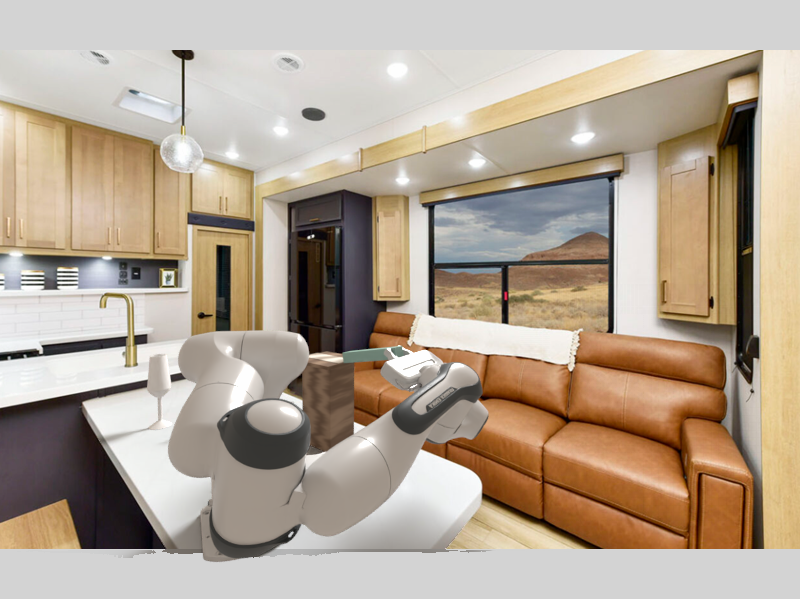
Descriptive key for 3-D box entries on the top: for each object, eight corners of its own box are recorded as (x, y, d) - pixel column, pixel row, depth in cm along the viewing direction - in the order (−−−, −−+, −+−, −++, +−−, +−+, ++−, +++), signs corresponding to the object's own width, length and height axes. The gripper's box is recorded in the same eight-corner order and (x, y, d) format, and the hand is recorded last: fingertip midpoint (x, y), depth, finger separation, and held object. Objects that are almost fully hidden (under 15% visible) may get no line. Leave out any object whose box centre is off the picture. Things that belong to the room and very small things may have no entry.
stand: (360, 439, 109) (361, 356, 108) (327, 457, 98) (327, 366, 96) (326, 427, 118) (326, 350, 116) (293, 443, 106) (292, 358, 105)
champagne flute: (151, 422, 119) (149, 353, 118) (174, 420, 122) (172, 352, 120) (145, 431, 113) (143, 358, 112) (169, 428, 116) (167, 356, 114)
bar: (404, 356, 93) (402, 345, 93) (396, 359, 90) (394, 347, 90) (351, 361, 104) (350, 351, 104) (343, 363, 101) (342, 352, 101)
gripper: (401, 403, 79) (361, 365, 86) (442, 382, 96) (407, 352, 102) (413, 382, 77) (371, 345, 84) (453, 364, 94) (416, 335, 100)
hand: (391, 349), depth 93 cm, fingers closed on bar, 3 cm apart
